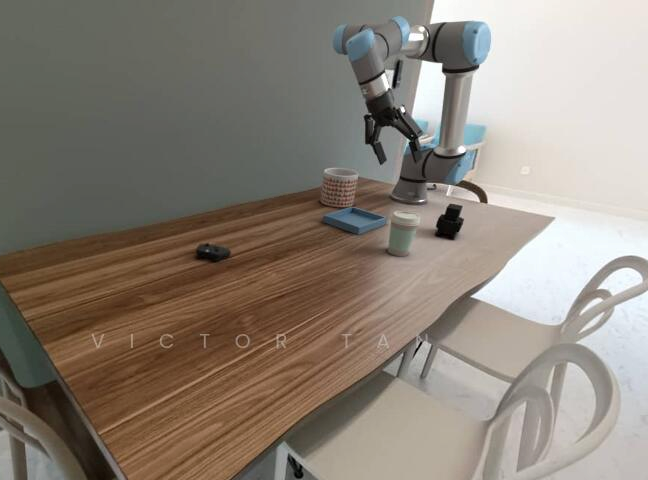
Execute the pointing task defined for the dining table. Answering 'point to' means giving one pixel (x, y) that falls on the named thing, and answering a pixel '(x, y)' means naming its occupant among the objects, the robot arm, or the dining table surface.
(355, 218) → the tray
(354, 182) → the planter
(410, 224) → the coffee cup
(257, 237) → the dining table surface
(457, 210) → the toy
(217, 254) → the game controller
